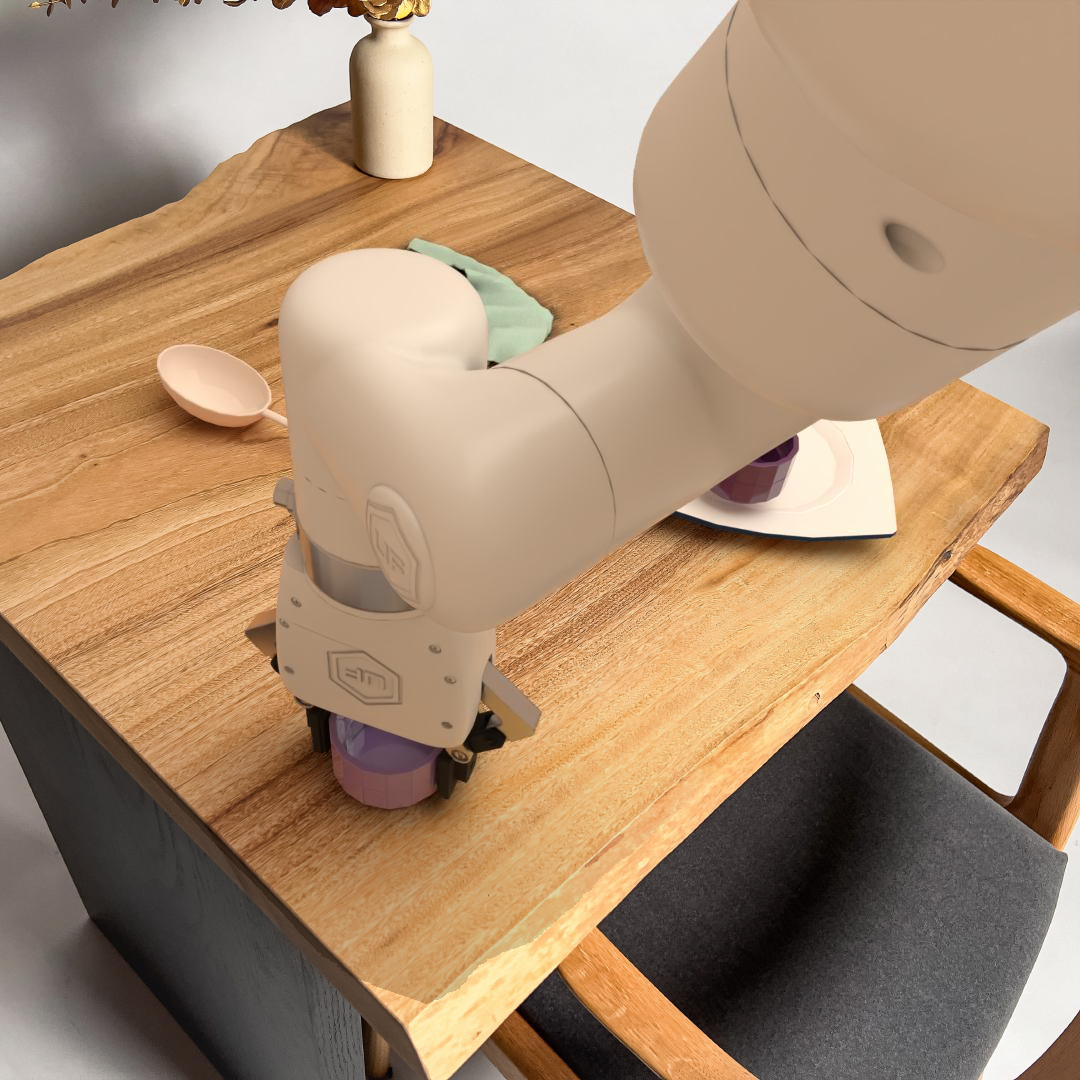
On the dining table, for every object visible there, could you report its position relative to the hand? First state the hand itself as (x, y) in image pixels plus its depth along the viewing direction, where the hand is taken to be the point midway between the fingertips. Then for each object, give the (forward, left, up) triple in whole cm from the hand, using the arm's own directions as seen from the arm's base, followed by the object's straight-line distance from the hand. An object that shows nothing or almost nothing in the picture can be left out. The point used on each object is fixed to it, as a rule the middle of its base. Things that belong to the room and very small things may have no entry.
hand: (392, 753), depth 56 cm
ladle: (+25, -8, -1) cm, 26 cm away
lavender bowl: (0, 0, -1) cm, 1 cm away
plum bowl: (+6, -32, +2) cm, 33 cm away
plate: (+9, -37, -1) cm, 38 cm away
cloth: (+39, -26, -1) cm, 47 cm away
